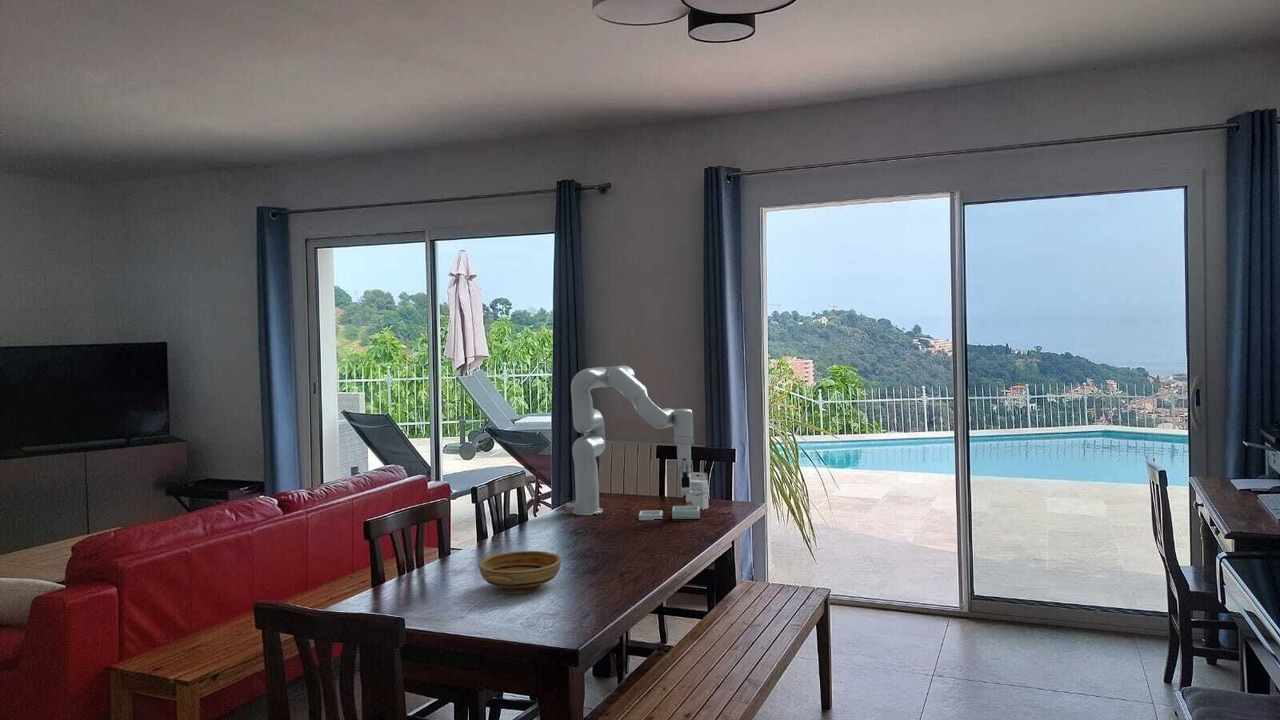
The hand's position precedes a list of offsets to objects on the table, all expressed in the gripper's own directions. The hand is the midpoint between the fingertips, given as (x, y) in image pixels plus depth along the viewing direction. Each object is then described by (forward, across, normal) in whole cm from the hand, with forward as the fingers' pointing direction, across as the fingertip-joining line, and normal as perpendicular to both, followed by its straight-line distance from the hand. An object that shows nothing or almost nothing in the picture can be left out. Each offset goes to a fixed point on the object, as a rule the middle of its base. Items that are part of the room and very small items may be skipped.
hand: (685, 485), depth 348 cm
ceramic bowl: (+13, +97, -45) cm, 108 cm away
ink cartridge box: (+13, -18, +4) cm, 22 cm away
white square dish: (+12, 0, -14) cm, 19 cm away
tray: (+12, 0, 0) cm, 12 cm away
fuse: (+3, 0, 0) cm, 3 cm away
